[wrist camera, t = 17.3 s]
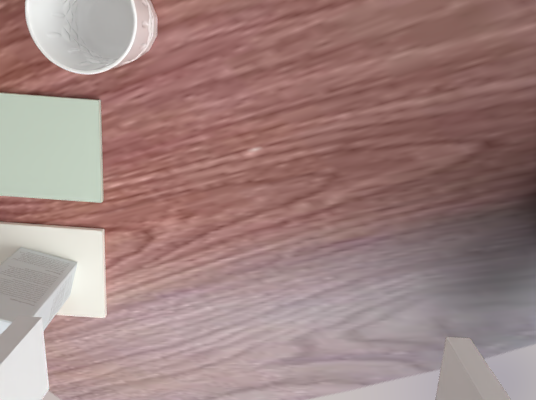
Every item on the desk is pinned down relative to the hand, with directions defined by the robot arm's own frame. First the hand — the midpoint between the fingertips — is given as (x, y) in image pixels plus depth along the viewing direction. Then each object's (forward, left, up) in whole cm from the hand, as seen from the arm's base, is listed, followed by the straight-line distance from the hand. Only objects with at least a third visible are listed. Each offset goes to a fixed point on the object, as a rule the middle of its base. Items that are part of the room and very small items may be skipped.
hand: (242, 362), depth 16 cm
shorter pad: (+21, +1, -33) cm, 40 cm away
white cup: (+13, -11, -34) cm, 38 cm away
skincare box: (+21, +14, -33) cm, 42 cm away
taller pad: (+21, +14, -33) cm, 42 cm away
